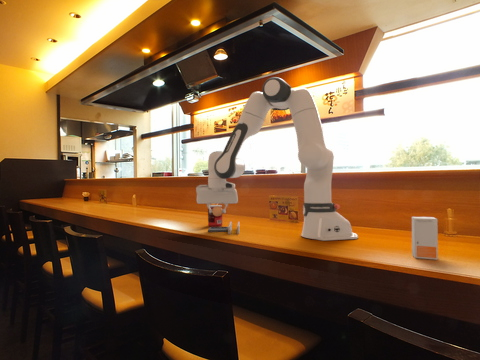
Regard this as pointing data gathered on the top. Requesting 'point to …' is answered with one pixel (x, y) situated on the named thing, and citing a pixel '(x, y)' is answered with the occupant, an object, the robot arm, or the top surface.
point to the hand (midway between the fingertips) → (217, 212)
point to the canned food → (214, 218)
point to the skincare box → (425, 237)
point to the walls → (231, 227)
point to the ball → (217, 211)
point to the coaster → (218, 229)
